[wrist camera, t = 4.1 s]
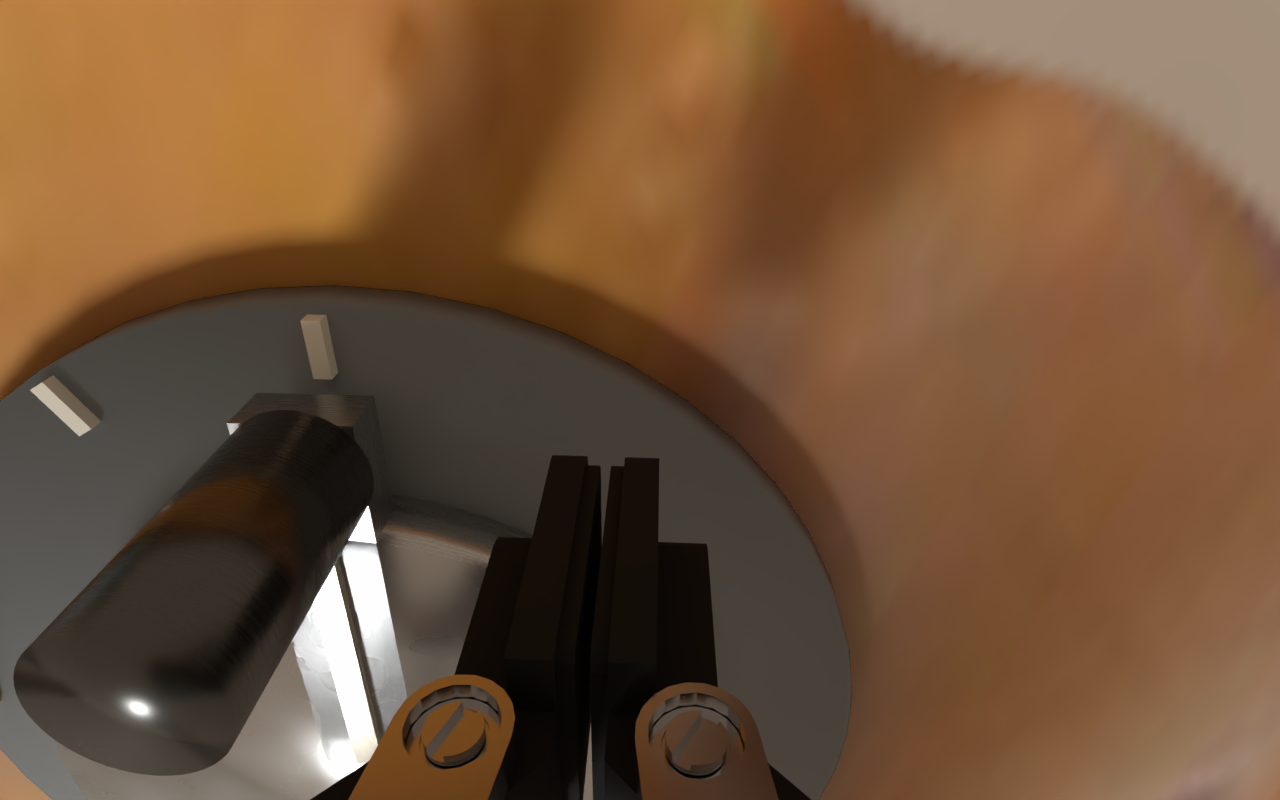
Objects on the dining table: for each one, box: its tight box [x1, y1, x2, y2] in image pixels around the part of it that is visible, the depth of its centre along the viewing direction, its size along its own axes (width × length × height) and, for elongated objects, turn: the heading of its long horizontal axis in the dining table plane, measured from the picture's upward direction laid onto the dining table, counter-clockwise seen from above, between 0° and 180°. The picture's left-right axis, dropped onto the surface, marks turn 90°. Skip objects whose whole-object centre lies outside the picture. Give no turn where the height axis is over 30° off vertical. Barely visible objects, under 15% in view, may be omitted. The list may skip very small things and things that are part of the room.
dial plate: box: [0, 286, 852, 800], centre depth 20 cm, size 23×23×1 cm
